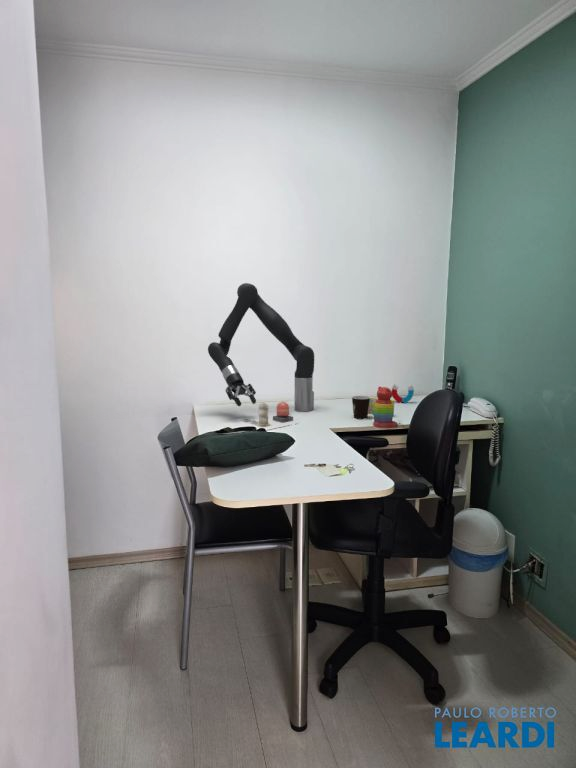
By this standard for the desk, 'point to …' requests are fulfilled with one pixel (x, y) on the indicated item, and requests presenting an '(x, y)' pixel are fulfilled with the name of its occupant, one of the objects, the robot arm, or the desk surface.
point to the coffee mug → (360, 406)
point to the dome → (282, 409)
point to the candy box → (371, 405)
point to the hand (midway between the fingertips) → (247, 404)
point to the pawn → (263, 415)
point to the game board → (275, 418)
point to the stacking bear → (384, 409)
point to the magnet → (402, 399)
